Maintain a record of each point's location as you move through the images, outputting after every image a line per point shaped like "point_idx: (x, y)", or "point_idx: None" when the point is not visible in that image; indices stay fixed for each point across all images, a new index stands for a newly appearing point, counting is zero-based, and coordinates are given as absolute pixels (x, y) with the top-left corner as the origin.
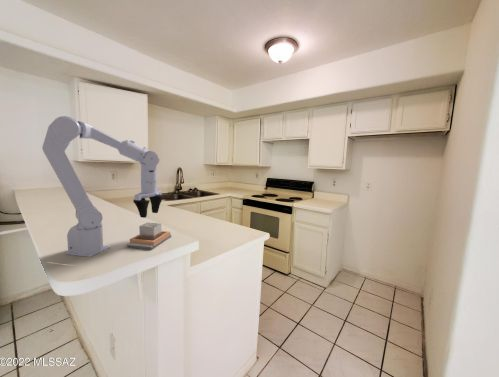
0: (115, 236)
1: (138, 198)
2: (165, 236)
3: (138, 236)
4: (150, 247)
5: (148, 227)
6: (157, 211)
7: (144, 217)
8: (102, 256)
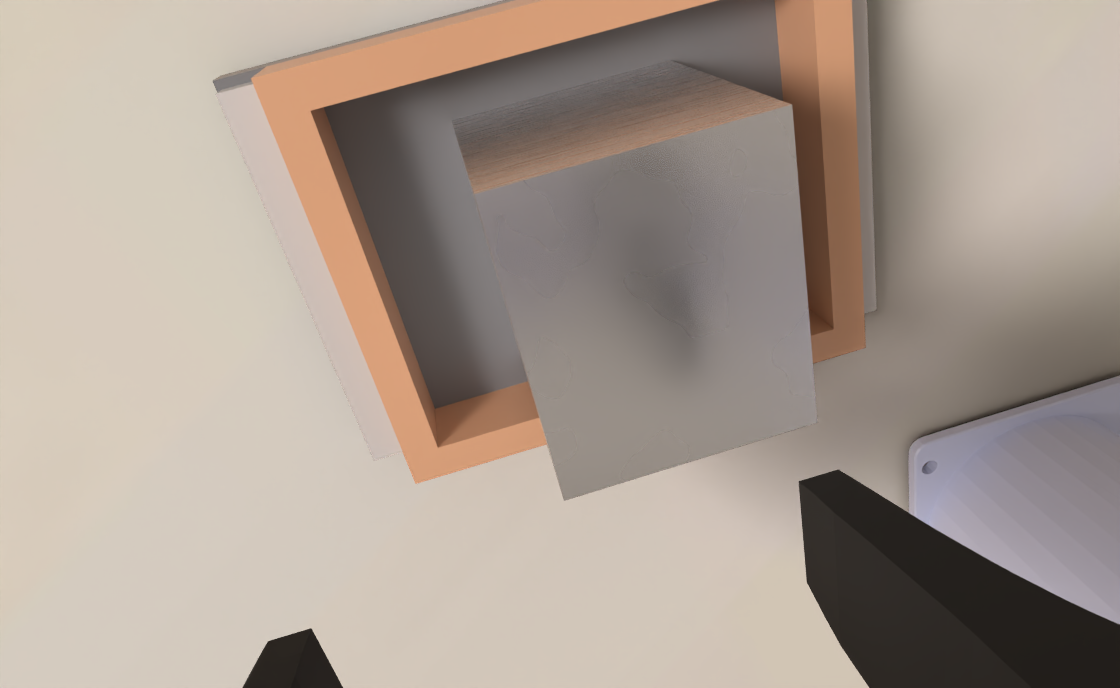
0: (630, 673)
1: None
2: (439, 24)
3: None
4: None
5: (798, 234)
6: (286, 663)
7: (847, 483)
8: (1095, 301)
